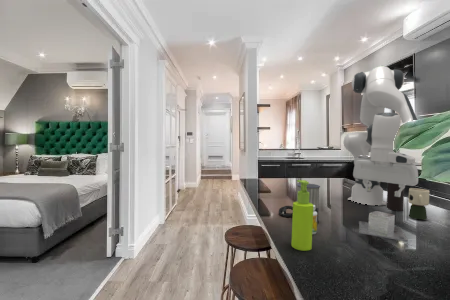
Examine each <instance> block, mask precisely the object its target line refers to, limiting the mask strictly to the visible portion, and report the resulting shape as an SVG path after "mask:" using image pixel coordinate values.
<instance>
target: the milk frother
mask: <svg viewBox="0 0 450 300" xmlns="http://www.w3.org/2000/svg"><path fill="white" fill-rule="evenodd" d="M320 188H321V185H319V184H315V183H309V184H307V191H308V192H309V203H312V204H313V205H315V206H316V209H315V211H316V212H317V225H318V224H320V223H319V222H320V221H319V205H320V202H319V201H320ZM296 189H297V190H296V200H297V199H298V191H300V190H301V183H300V182H298V183H296ZM287 210H291V211H293V205H284V206H281V207H280V208H279V209H278V215H280V216H283V217H286V218H290V217H293V212H292V213H287Z"/></svg>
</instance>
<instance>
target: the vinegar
mask: <svg viewBox="0 0 450 300" xmlns="http://www.w3.org/2000/svg"><path fill="white" fill-rule="evenodd" d="M400 188H401V187H399V184H394V183H387V189H386V190H387V192H386V193H387V195H386V203H387V205H386V209H387V208H388V209H387V210H389V211H390V210H391V211H394V210H396V212H402V211H403V210H404V198H405V196H404V195H405V188H404V189H403V190H402V191H401V196H400V197H396V196H395V191H399V189H400Z"/></svg>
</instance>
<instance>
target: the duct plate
mask: <svg viewBox="0 0 450 300" xmlns="http://www.w3.org/2000/svg"><path fill="white" fill-rule="evenodd" d="M358 224H359V226H358V228H359V234H363V235H368V236H374V237H379V238H386V239H390V240H397V241H403V242H409V239H408V238H407V236H406V234H405V233H404V232H405V231H404V230H403V229H402V227H399V226H394V231H392V232H390V233H388V234H385V233H382V232H378V231H375V230H371V229H368V225H369V222H367V221H360V220H359V221H358Z"/></svg>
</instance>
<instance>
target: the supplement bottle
mask: <svg viewBox="0 0 450 300" xmlns="http://www.w3.org/2000/svg"><path fill="white" fill-rule="evenodd" d="M315 209H316V206H315V205H313V228H312V235H316V234H317V232H318V224H317V212H316V211H315Z"/></svg>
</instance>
